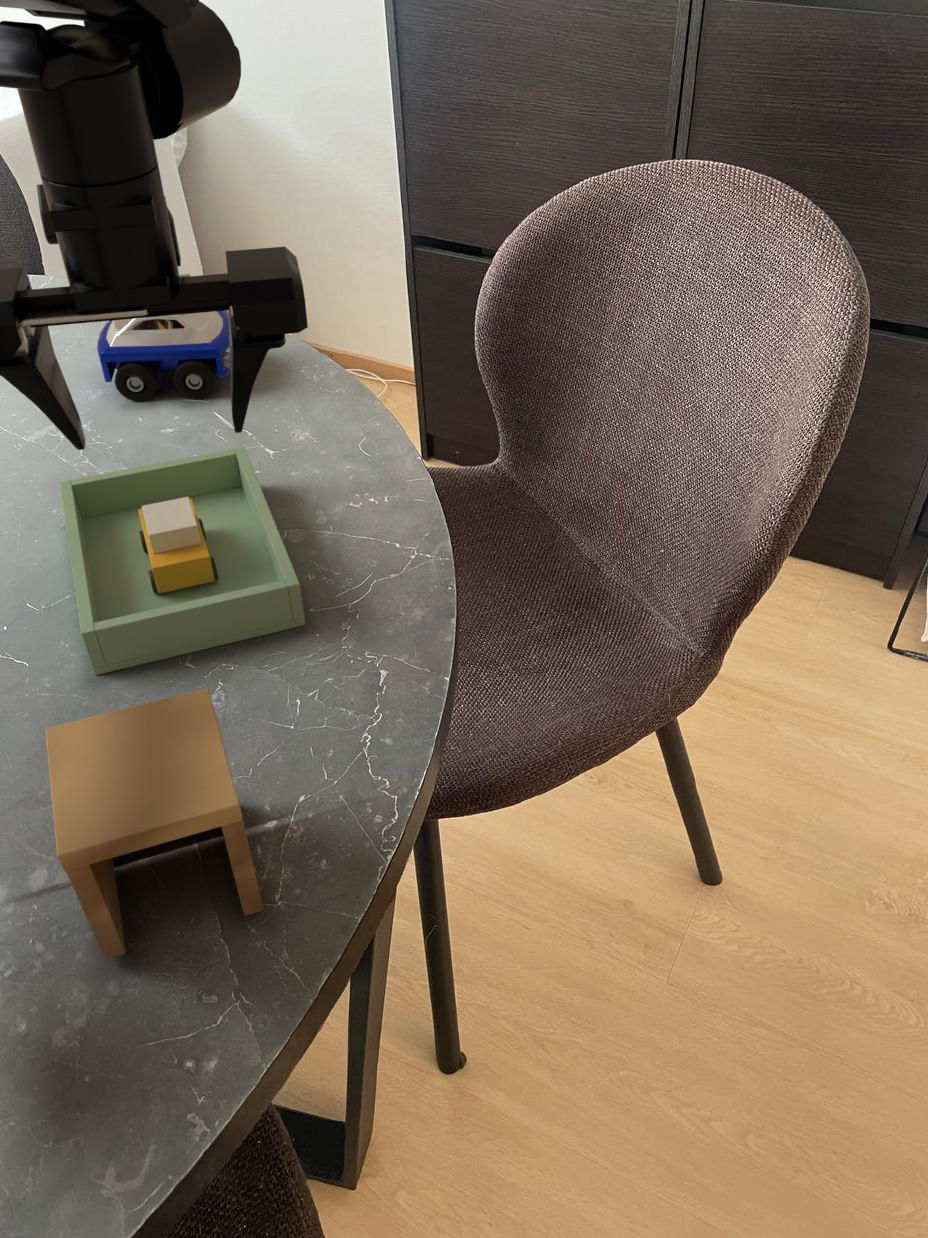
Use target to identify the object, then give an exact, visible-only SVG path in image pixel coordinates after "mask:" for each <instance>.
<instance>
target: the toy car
mask: <svg viewBox="0 0 928 1238" xmlns="http://www.w3.org/2000/svg"><path fill="white" fill-rule="evenodd" d="M179 276H180V277H189V276H191V275H190V273H188V274H186V273H185V274H179ZM97 339H98V340H97V344H96V350H97V355H98V358H99V362H100V366H101V371H102V374H103V378H104V381H105V383H112V381H113V377H114V385H115V388H116V390H117V391H118V392H119V394H120V395H121V396H122V397H124V398H125V399H127V400H129V401H133V402H144V401H147V400H149V399H151V398H152V397H153V395H154V394H155V393H156V390H157V387H158V384H159V379H160V373H161V372H163V371H169V370H171V371H175V372H174V375H173V382H174V386H175V388H176V390H178V392H179V393H180V394H182V396H185V397H186V398H188V399H189V398H190V399H192V400H193V399H194V400H202V399H204V398H206V397H208V396H210V395H211V394H212V392H213V391H214V389H215V384H216V380H217V376H218V378H219V379H220V378H226V377H227V376H228V374H230V339H229V312H228V310H226V311H215V312H203V313H192V314H180V315H169V316H158V317H146V318H135V319H124V320H112V321H106V323H105V325H103V328H102V329H101V331H100V332H99V335H98V338H97ZM115 370H116V373H115ZM114 375H115V376H114Z"/></svg>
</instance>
